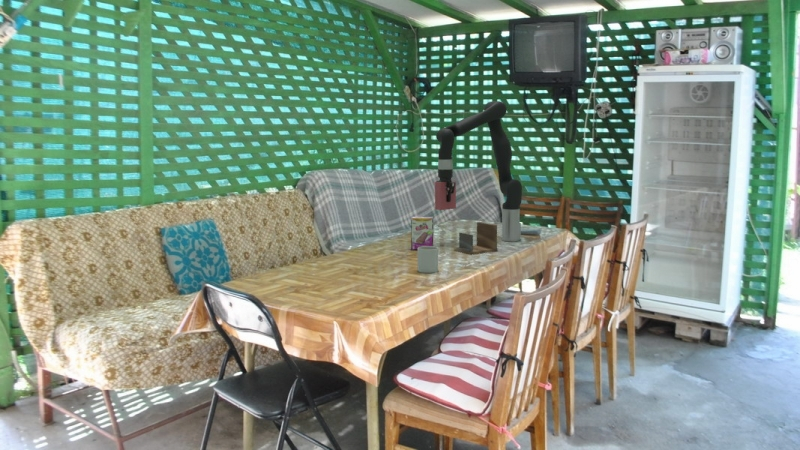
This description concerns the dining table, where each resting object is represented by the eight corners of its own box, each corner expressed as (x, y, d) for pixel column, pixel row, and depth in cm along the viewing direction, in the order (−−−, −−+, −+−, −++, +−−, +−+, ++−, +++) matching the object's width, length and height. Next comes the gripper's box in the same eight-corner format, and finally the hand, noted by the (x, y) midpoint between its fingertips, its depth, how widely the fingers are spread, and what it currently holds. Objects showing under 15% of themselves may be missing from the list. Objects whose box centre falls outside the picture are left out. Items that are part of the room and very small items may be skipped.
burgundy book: (450, 207, 351) (450, 180, 349) (455, 208, 347) (455, 181, 345) (435, 209, 345) (434, 182, 343) (440, 210, 342) (440, 182, 340)
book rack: (480, 247, 343) (480, 222, 341) (497, 251, 332) (497, 225, 331) (454, 250, 334) (454, 224, 332) (470, 254, 323) (470, 228, 321)
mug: (423, 273, 282) (423, 250, 281) (413, 269, 291) (413, 247, 289) (446, 271, 287) (446, 248, 286) (434, 267, 296) (434, 244, 294)
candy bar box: (411, 250, 337) (410, 217, 334) (411, 248, 342) (411, 216, 339) (433, 250, 336) (433, 217, 333) (433, 248, 341) (433, 216, 338)
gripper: (459, 168, 339) (459, 202, 342) (442, 167, 351) (443, 199, 354) (447, 169, 335) (448, 203, 338) (431, 168, 347) (431, 200, 350)
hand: (445, 201), depth 346 cm, fingers closed on burgundy book, 4 cm apart
